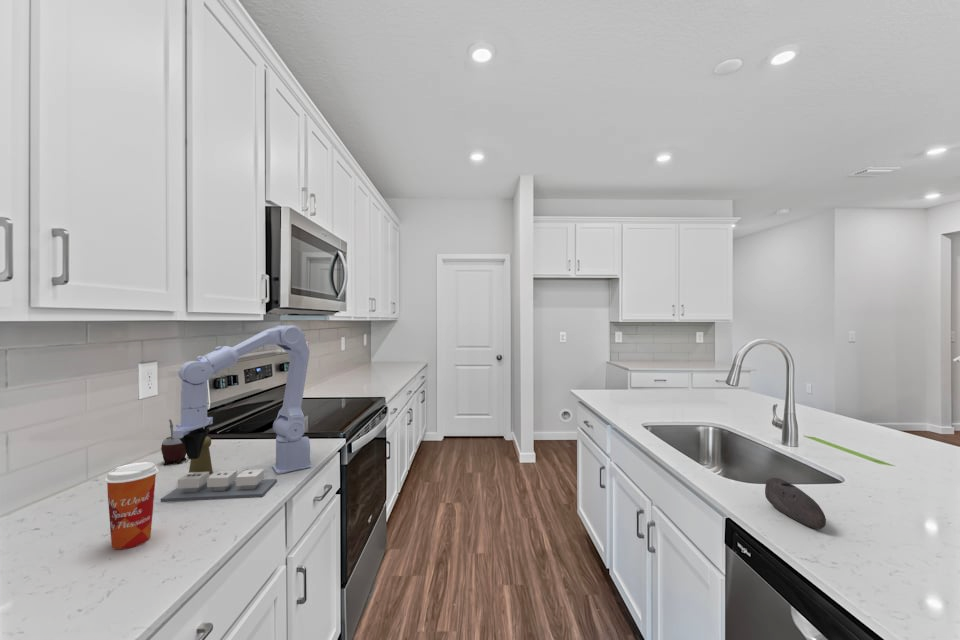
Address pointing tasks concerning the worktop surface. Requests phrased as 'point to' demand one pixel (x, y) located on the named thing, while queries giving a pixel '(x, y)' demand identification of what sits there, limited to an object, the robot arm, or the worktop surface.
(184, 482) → the key three
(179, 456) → the mate gourd
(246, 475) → the key one
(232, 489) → the keypad base
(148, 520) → the coffee cup
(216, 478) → the key two
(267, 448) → the worktop surface
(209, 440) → the cork
